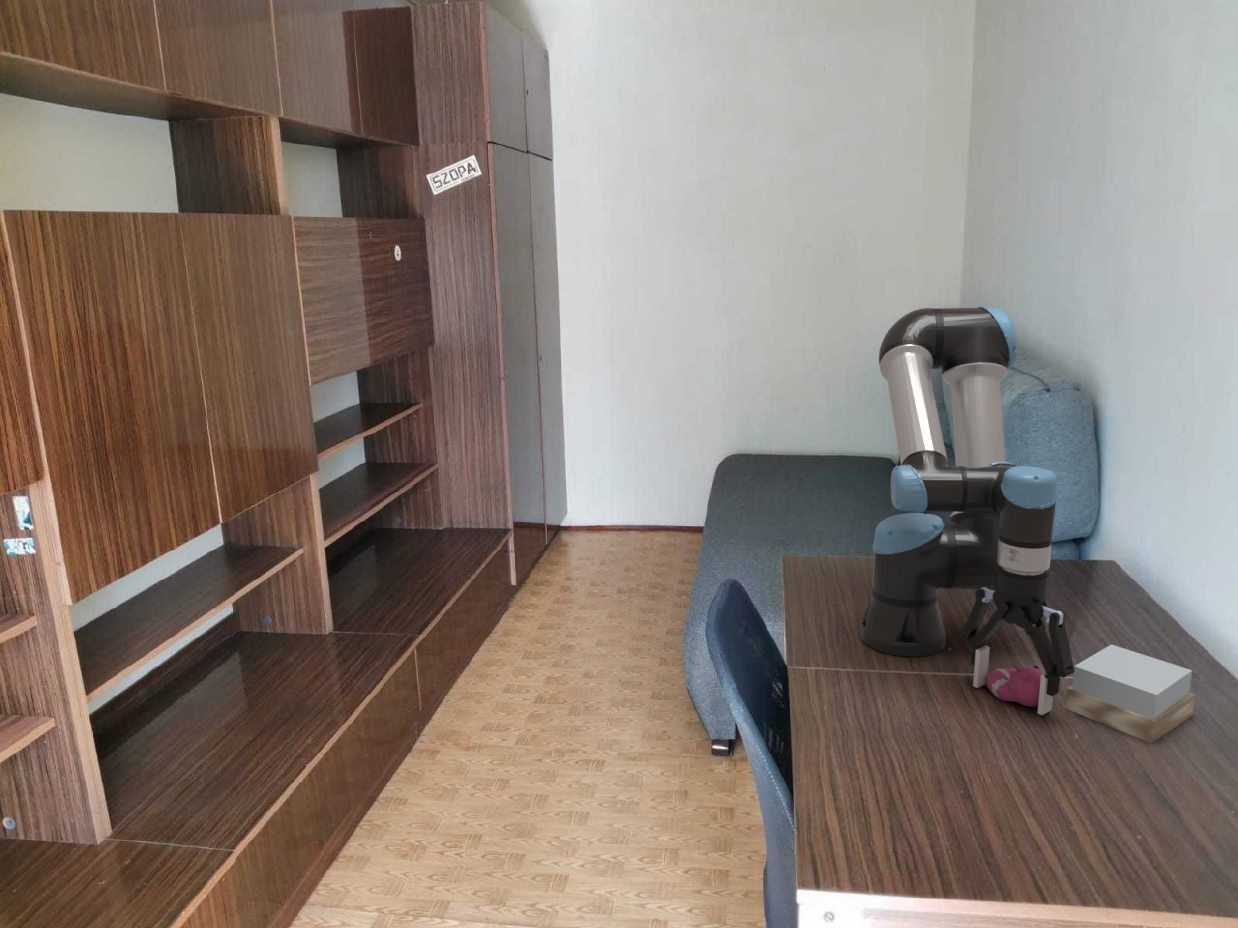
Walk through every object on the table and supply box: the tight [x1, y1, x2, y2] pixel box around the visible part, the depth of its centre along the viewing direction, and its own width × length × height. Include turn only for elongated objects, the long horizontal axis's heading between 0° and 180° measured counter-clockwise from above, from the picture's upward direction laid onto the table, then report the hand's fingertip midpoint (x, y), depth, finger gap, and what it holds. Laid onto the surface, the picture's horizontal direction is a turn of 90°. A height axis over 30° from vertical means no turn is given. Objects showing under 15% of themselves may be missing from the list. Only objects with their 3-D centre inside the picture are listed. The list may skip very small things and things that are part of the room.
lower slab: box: [1065, 685, 1196, 744], centre depth 141 cm, size 13×13×4 cm
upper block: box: [1071, 644, 1193, 720], centre depth 140 cm, size 12×12×4 cm
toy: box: [985, 662, 1045, 707], centre depth 147 cm, size 11×9×10 cm
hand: (1011, 697), depth 146 cm, fingers closed on toy, 10 cm apart
